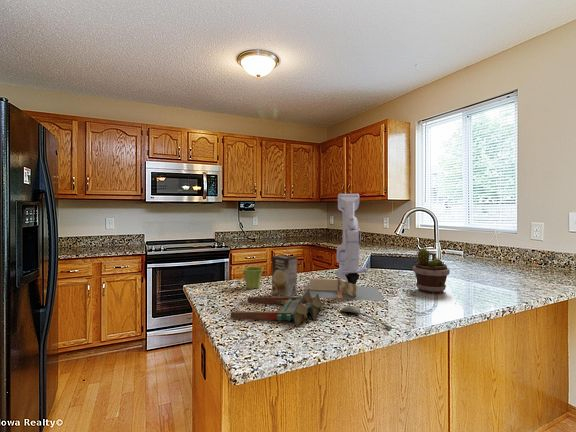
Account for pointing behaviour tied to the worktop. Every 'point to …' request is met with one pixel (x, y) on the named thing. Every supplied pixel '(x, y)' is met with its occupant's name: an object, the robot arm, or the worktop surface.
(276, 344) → the worktop surface
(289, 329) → the worktop surface
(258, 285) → the plant pot
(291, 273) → the coffee box
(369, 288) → the board
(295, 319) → the miniature gate
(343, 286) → the tan wooden plank
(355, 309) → the soupspoon
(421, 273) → the flowerpot
